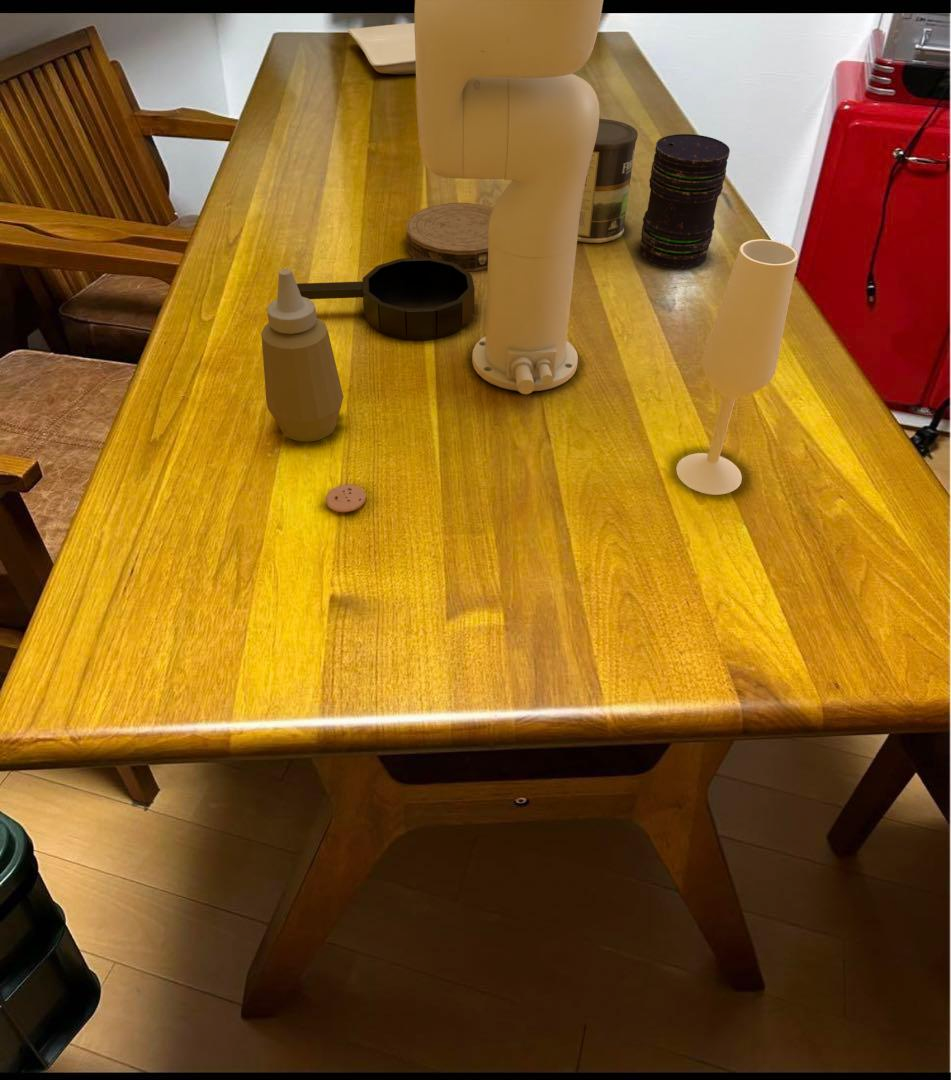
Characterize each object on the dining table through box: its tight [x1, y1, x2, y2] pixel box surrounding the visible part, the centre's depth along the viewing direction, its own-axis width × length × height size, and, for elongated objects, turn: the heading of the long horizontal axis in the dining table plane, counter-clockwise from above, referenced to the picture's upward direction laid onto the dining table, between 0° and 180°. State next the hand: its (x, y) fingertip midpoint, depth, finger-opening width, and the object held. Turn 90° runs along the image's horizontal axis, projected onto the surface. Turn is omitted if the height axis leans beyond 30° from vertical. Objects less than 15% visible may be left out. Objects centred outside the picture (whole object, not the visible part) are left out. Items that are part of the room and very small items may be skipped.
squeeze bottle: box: [260, 268, 344, 443], centre depth 85 cm, size 8×8×18 cm
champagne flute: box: [675, 238, 799, 496], centre depth 79 cm, size 7×7×24 cm
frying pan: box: [296, 257, 475, 341], centre depth 108 cm, size 14×24×4 cm, turn 96°
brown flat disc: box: [406, 202, 494, 272], centre depth 122 cm, size 16×16×3 cm
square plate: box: [347, 22, 416, 75], centre depth 187 cm, size 27×27×4 cm
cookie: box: [325, 484, 367, 513], centre depth 83 cm, size 4×4×1 cm
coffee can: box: [577, 118, 639, 244], centre depth 123 cm, size 10×10×14 cm
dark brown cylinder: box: [638, 133, 731, 271], centre depth 117 cm, size 10×10×15 cm
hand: (519, 3), depth 108 cm, fingers closed
